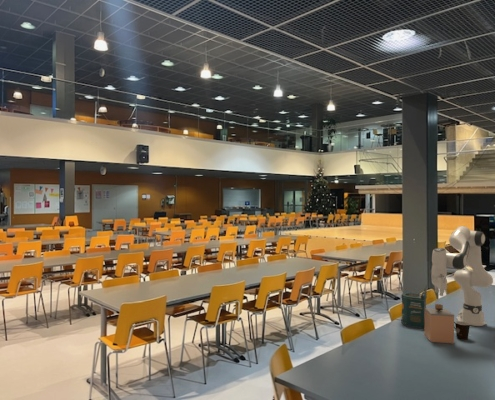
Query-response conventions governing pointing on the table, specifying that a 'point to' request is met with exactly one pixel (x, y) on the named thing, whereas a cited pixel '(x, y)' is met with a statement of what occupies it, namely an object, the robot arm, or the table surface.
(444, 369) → the table surface
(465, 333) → the coffee mug
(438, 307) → the plunger
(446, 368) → the table surface
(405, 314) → the donation box
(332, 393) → the table surface
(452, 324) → the brown block
